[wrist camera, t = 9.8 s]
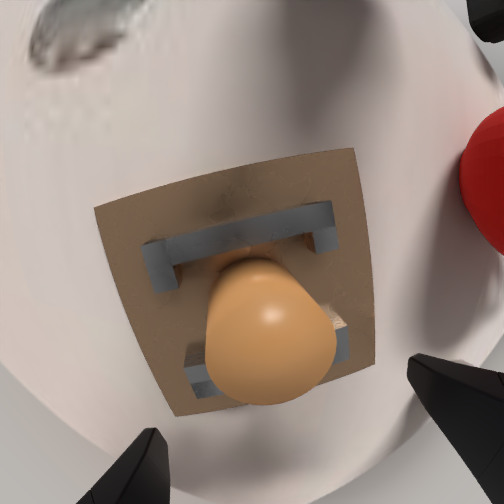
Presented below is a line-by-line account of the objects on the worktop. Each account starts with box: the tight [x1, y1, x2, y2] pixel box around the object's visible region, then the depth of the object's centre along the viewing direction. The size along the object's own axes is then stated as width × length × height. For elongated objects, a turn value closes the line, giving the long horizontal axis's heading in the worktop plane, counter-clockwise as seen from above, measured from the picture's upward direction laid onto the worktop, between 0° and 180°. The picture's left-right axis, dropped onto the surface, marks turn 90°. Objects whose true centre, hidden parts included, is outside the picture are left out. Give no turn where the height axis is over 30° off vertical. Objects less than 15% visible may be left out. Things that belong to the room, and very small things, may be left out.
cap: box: [205, 258, 337, 405], centre depth 14 cm, size 6×6×6 cm
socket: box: [94, 148, 375, 416], centre depth 16 cm, size 16×16×2 cm
